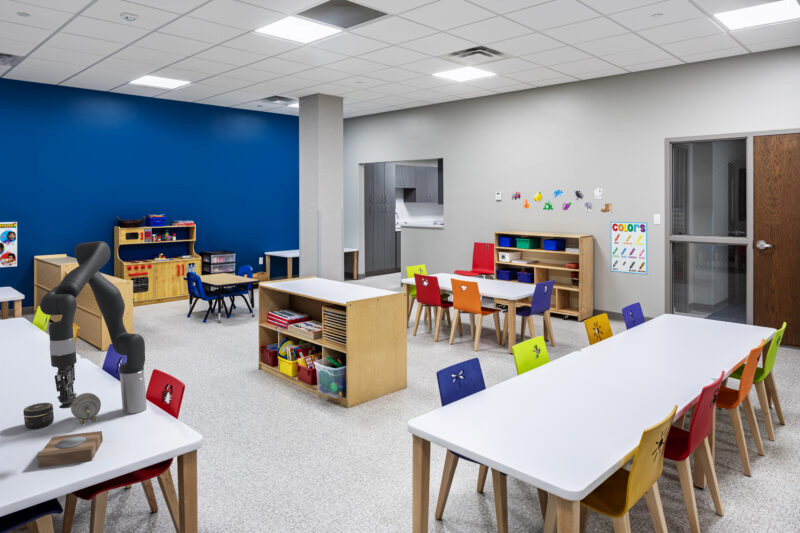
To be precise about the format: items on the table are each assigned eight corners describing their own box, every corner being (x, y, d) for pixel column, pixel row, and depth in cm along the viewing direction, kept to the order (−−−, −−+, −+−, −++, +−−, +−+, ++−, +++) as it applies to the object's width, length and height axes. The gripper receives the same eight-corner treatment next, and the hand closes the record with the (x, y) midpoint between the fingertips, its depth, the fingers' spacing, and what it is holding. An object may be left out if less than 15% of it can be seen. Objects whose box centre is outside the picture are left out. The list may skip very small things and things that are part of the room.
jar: (18, 428, 215) (16, 410, 215) (41, 418, 225) (40, 401, 224) (37, 431, 213) (36, 412, 212) (60, 421, 222) (58, 403, 221)
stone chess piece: (60, 403, 193) (57, 371, 191) (79, 401, 195) (76, 369, 193) (56, 409, 187) (53, 376, 186) (76, 407, 189) (72, 373, 188)
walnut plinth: (53, 447, 198) (52, 435, 198) (102, 441, 203) (101, 430, 202) (38, 467, 183) (37, 455, 183) (91, 460, 188) (90, 448, 187)
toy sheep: (97, 411, 232) (95, 386, 231) (106, 423, 219) (104, 396, 218) (69, 417, 226) (66, 391, 224) (76, 430, 213) (73, 403, 211)
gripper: (57, 347, 194) (61, 392, 196) (43, 358, 181) (48, 406, 183) (80, 345, 196) (84, 390, 199) (69, 355, 183) (73, 404, 185)
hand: (67, 398), depth 191 cm, fingers closed on stone chess piece, 6 cm apart
